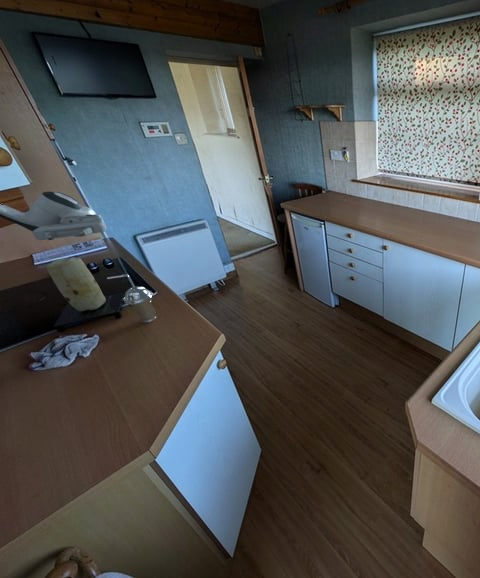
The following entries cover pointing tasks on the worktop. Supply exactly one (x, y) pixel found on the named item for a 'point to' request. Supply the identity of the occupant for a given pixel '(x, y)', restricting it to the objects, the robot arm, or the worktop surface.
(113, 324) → the worktop surface
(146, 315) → the cup with straw
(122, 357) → the worktop surface
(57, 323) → the low black rectangular block
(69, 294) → the food model
